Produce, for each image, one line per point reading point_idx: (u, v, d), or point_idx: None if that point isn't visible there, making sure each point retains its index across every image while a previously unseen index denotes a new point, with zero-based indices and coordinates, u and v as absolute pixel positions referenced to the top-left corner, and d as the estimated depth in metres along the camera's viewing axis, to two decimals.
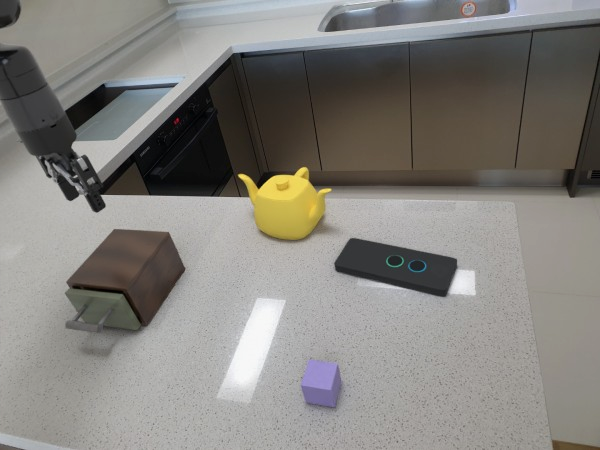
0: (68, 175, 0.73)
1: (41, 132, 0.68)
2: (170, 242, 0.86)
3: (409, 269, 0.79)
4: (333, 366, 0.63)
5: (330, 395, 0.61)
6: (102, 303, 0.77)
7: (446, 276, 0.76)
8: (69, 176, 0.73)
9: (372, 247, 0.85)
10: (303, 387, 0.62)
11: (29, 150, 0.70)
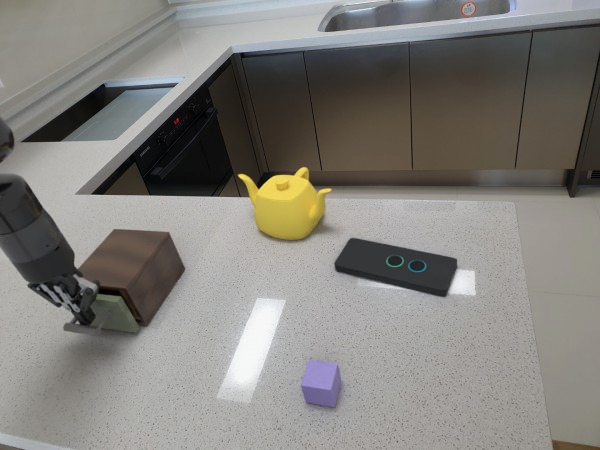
0: (69, 297, 0.70)
1: (46, 258, 0.64)
2: (170, 242, 0.86)
3: (409, 269, 0.79)
4: (333, 366, 0.63)
5: (330, 395, 0.61)
6: (100, 305, 0.76)
7: (446, 276, 0.76)
8: (70, 298, 0.70)
9: (372, 246, 0.85)
10: (303, 387, 0.62)
11: (30, 279, 0.65)
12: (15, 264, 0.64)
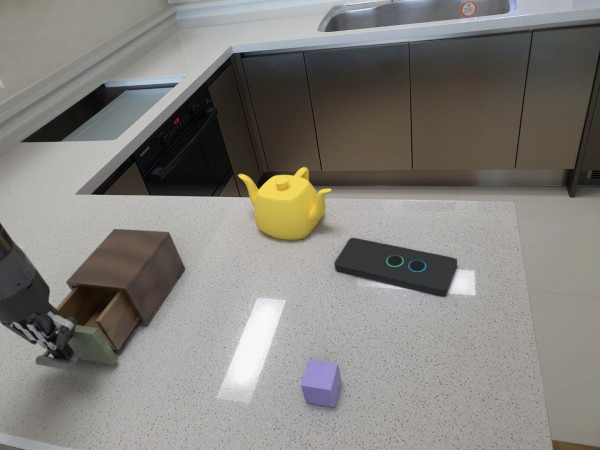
0: (44, 335, 0.66)
1: (17, 297, 0.60)
2: (170, 242, 0.86)
3: (409, 269, 0.79)
4: (333, 366, 0.63)
5: (330, 395, 0.61)
6: (75, 337, 0.72)
7: (446, 276, 0.76)
8: (44, 336, 0.66)
9: (373, 246, 0.85)
10: (303, 387, 0.62)
11: (0, 318, 0.61)
12: None
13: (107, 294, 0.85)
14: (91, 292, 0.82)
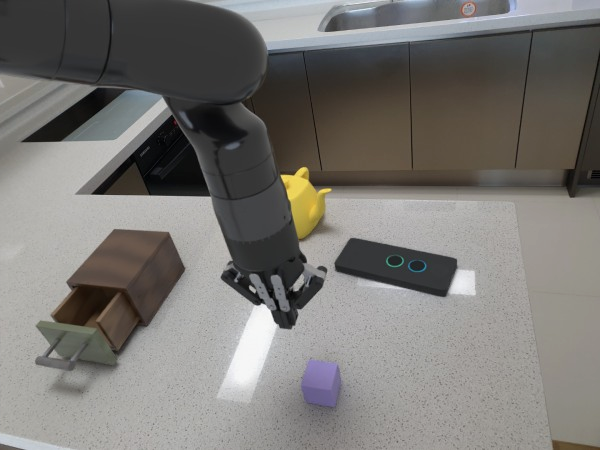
0: (285, 291, 0.51)
1: (281, 235, 0.45)
2: (170, 242, 0.86)
3: (409, 269, 0.79)
4: (333, 366, 0.63)
5: (330, 395, 0.61)
6: (75, 337, 0.72)
7: (446, 276, 0.76)
8: (285, 292, 0.52)
9: (373, 246, 0.85)
10: (303, 387, 0.62)
11: (253, 265, 0.47)
12: (238, 244, 0.45)
13: (107, 294, 0.85)
14: (91, 292, 0.82)
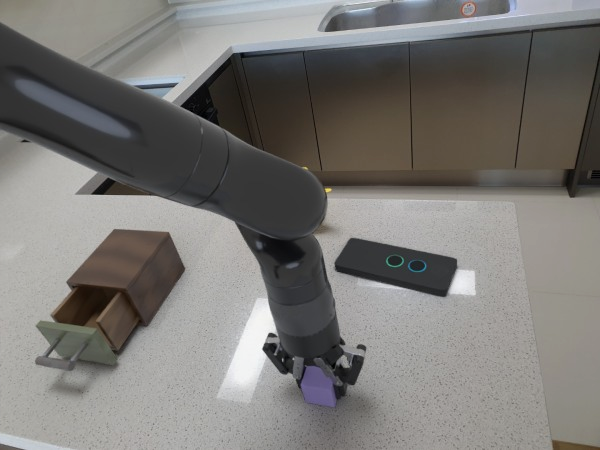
0: (331, 369, 0.58)
1: (327, 330, 0.53)
2: (170, 242, 0.86)
3: (409, 269, 0.79)
4: None
5: (330, 395, 0.61)
6: (75, 337, 0.72)
7: (446, 276, 0.76)
8: (332, 370, 0.58)
9: (373, 246, 0.85)
10: (303, 387, 0.62)
11: (301, 353, 0.54)
12: (290, 337, 0.52)
13: (107, 294, 0.85)
14: (91, 292, 0.82)
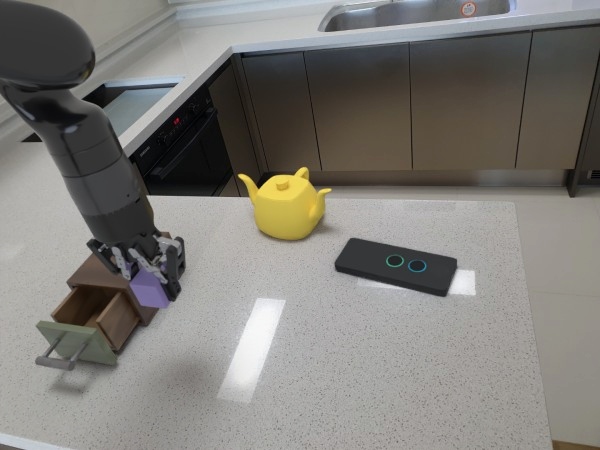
0: (149, 262, 0.57)
1: (126, 211, 0.52)
2: None
3: (409, 269, 0.79)
4: None
5: (157, 293, 0.60)
6: (75, 337, 0.72)
7: (446, 276, 0.76)
8: (150, 263, 0.58)
9: (373, 246, 0.85)
10: (132, 286, 0.61)
11: (104, 237, 0.53)
12: (88, 218, 0.52)
13: (107, 294, 0.85)
14: (91, 292, 0.82)
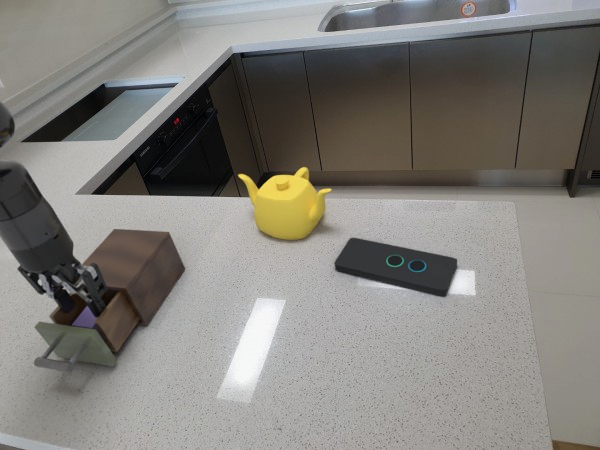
0: (71, 285, 0.69)
1: (45, 246, 0.64)
2: (170, 242, 0.86)
3: (409, 269, 0.79)
4: None
5: None
6: (74, 338, 0.71)
7: (446, 276, 0.76)
8: (72, 286, 0.69)
9: (373, 246, 0.85)
10: (74, 326, 0.76)
11: (28, 267, 0.65)
12: (13, 252, 0.63)
13: (106, 295, 0.85)
14: None
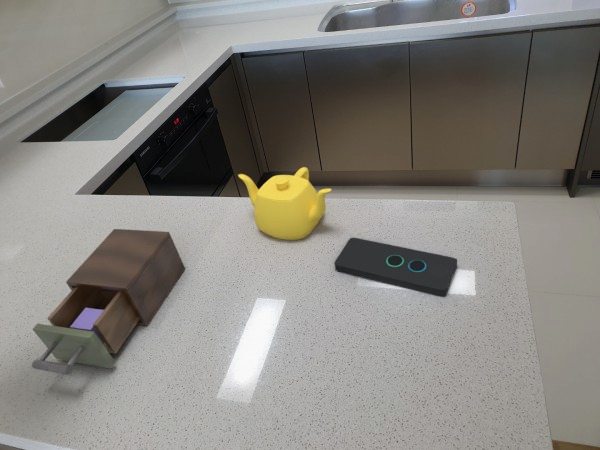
0: None
1: None
2: (170, 242, 0.86)
3: (409, 269, 0.79)
4: (101, 312, 0.77)
5: None
6: (72, 341, 0.71)
7: (446, 276, 0.76)
8: None
9: (373, 246, 0.85)
10: (72, 328, 0.75)
11: None
12: None
13: (105, 297, 0.85)
14: (88, 295, 0.82)
